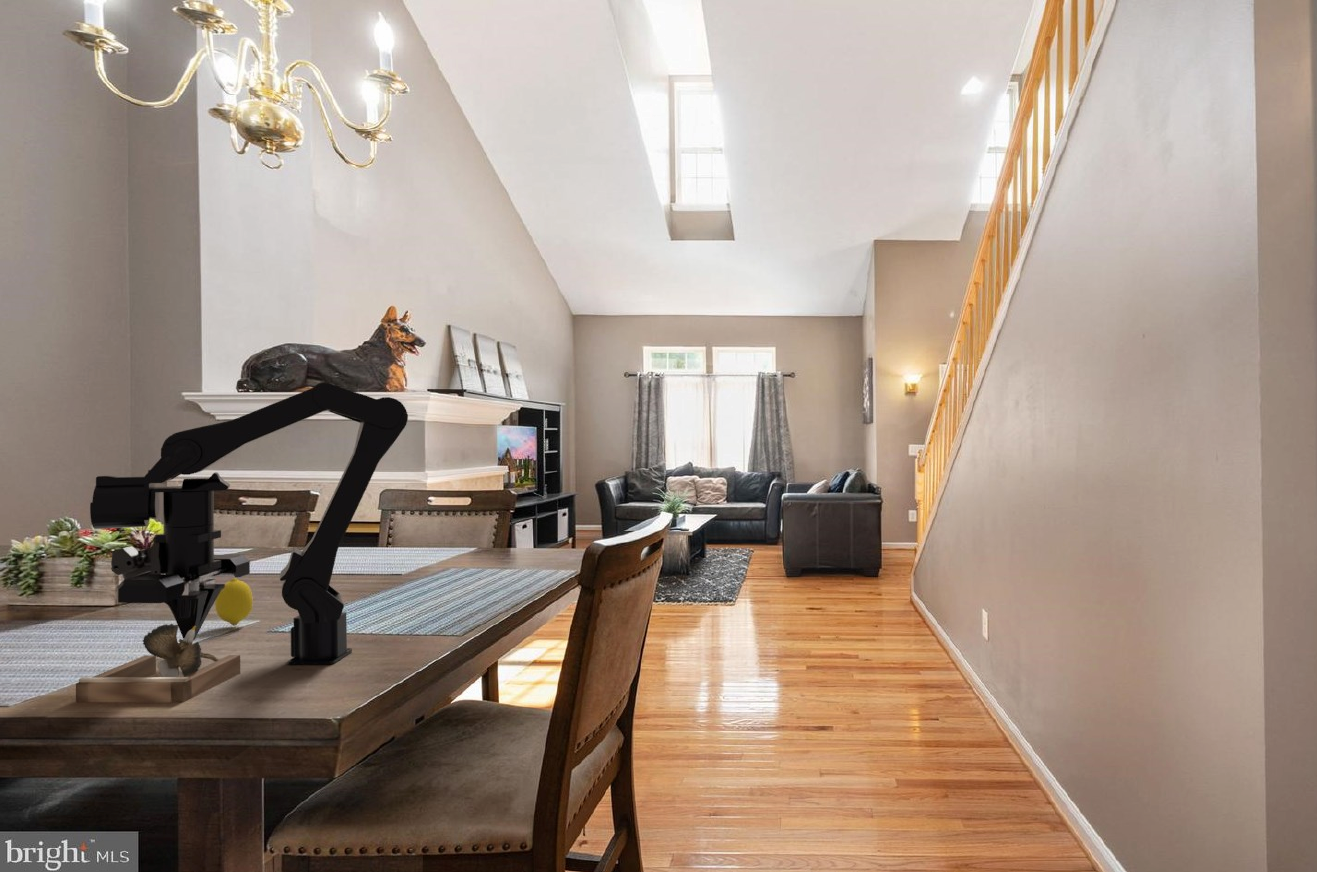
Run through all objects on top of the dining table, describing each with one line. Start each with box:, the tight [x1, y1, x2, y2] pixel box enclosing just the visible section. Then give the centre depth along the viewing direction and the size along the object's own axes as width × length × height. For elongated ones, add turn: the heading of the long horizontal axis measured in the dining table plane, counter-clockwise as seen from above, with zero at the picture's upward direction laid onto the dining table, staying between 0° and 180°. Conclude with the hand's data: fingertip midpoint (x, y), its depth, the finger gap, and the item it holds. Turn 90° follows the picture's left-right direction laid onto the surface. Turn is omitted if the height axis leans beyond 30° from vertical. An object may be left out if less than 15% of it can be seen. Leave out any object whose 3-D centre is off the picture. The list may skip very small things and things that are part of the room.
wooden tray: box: [75, 654, 241, 703], centre depth 94 cm, size 13×12×3 cm
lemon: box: [214, 577, 254, 626], centre depth 126 cm, size 6×6×8 cm
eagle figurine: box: [142, 623, 220, 677], centre depth 96 cm, size 8×7×9 cm
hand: (189, 641), depth 100 cm, fingers closed, pressing on eagle figurine
